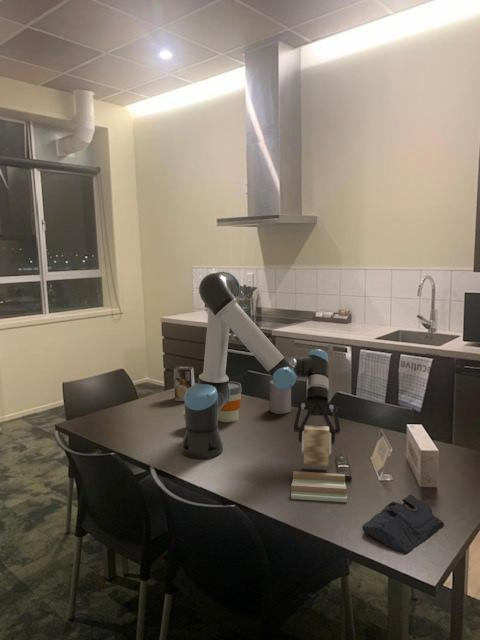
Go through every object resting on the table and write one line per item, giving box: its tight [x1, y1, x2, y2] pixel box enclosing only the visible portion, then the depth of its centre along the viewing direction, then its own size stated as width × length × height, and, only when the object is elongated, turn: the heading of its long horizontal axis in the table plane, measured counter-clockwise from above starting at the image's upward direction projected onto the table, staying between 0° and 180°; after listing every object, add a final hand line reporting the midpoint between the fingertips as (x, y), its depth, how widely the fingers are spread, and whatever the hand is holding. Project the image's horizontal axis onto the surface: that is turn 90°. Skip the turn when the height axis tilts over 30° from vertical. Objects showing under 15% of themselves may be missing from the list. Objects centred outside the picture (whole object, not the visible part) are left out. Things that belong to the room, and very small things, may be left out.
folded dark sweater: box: [362, 494, 445, 554], centre depth 128 cm, size 15×22×5 cm
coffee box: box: [173, 365, 196, 402], centre depth 240 cm, size 9×6×16 cm
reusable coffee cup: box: [218, 381, 243, 423], centre depth 211 cm, size 13×13×15 cm
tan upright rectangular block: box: [303, 424, 330, 466], centre depth 161 cm, size 8×4×12 cm, turn 81°
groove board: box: [290, 470, 348, 503], centre depth 148 cm, size 16×14×3 cm
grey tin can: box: [269, 379, 292, 415], centre depth 221 cm, size 10×10×15 cm
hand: (316, 452), depth 159 cm, fingers closed on tan upright rectangular block, 8 cm apart
